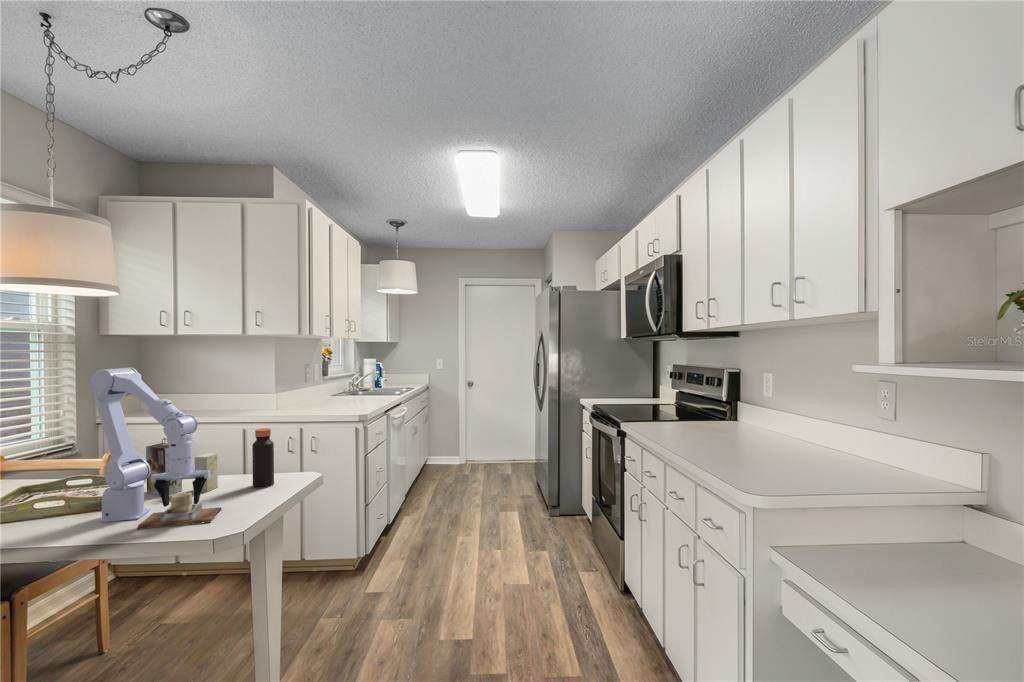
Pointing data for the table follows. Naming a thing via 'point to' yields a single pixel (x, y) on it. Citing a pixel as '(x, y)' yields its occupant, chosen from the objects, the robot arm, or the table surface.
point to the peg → (181, 503)
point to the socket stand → (180, 517)
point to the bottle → (263, 459)
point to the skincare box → (208, 463)
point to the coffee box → (160, 467)
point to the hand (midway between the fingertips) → (181, 504)
